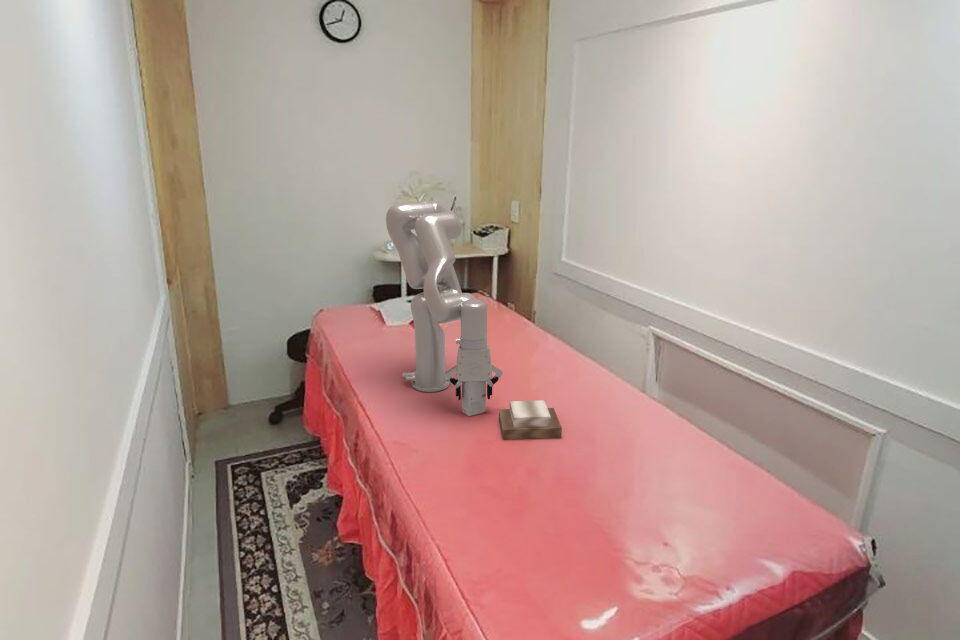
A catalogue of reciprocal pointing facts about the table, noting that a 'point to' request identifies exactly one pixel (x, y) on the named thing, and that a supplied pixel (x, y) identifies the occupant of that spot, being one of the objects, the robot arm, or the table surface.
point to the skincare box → (473, 397)
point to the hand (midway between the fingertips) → (474, 397)
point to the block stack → (529, 421)
